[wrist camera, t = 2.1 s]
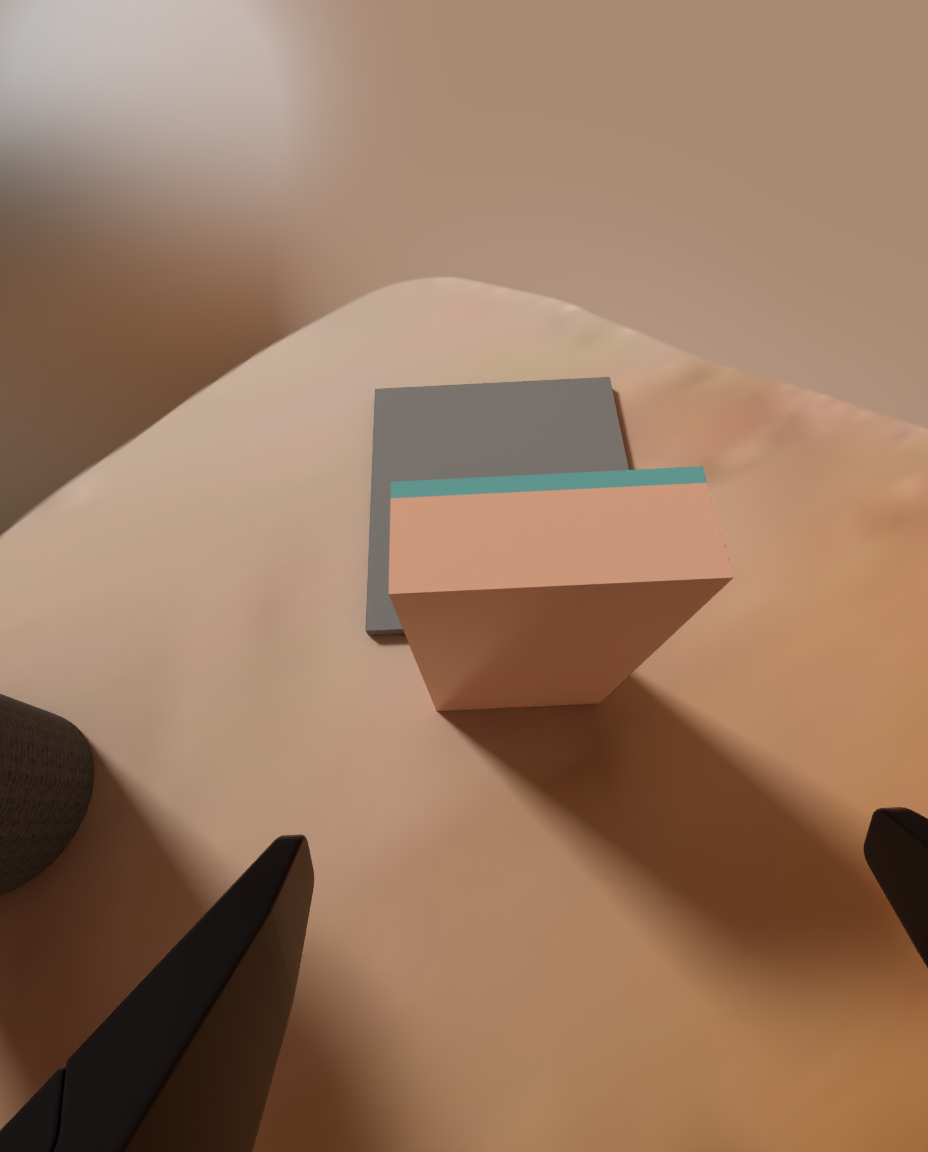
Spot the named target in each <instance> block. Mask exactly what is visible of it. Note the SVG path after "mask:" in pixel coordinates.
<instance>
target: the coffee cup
mask: <svg viewBox="0 0 928 1152" xmlns="http://www.w3.org/2000/svg"><path fill="white" fill-rule="evenodd" d="M92 785H93V761H92V756H91V752H90V749H89V746H88V744H87V742H86V740H85V738H84V736H83V735H82V733H81V732H80V731H79V730H78V729H77V728H76V727H75V726H74V725H73V724H72V723H71V722H69V721H68V720H66V719H64V718H62V717H60V716H58V715H55V714H53V713H50V712H48V711H45V710H42V709H40V708H37V707H34V706H31V705H29V704H26V703H23V702H21V701H18V700H15V699H13V698H10V697H7V696H5V695H2V694H0V895H1V894H3V893H6V892H9V891H11V890H13V889H15V888H17V887H19V886H21V885H23V884H24V883H26V882H27V881H29V880H31V879H32V878H33V877H35V876H36V875H37V874H39V873H40V872H41V871H42V870H44V869H45V868H46V867H47V866H48V865H49V864H50V863H51V862H52V861H53V860H54V859H55V858H56V857H57V856H58V855H59V854H60V853H61V851H62V850H63V849H64V848H65V846H66V845H67V844H68V842H69V841H70V840H71V838H72V837H73V835H74V833H75V832H76V830H77V828H78V826H79V825H80V823H81V821H82V818H83V816H84V814H85V811H86V809H87V806H88V803H89V799H90V796H91V791H92Z"/></svg>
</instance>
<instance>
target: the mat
mask: <svg viewBox="0 0 928 1152" xmlns="http://www.w3.org/2000/svg"><path fill="white" fill-rule="evenodd" d="M620 470H629V468H628V463H627V458H626V453H625V449H624V444H623V439H622V434H621V429H620V424H619V420H618V415H617V410H616V405H615V400H614V396H613V391H612V386H611V381H610V377H601V378H581V379H561V380H542V381H522V382H502V383H483V384H463V385H443V386H424V387H404V388H385V389H375V404H374V430H373V455H372V481H371V506H370V532H369V557H368V583H367V608H366V632H367V634H368V635H383V634H404V630H403V628H402V626H401V623H400V621H399V618H398V616H397V613H396V611H395V608H394V606H393V604H392V601H391V599H390V596H389V549H390V501H391V482H399V481H419V480H439V479H459V478H479V477H500V476H520V475H540V474H560V473H580V472H600V471H620Z"/></svg>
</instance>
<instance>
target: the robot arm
mask: <svg viewBox="0 0 928 1152" xmlns="http://www.w3.org/2000/svg"><path fill="white" fill-rule="evenodd" d="M864 855H865V859H866V861H867V863H868V866H869V867H870V869H871V871H872V873H873V874H874V876H875V878H876V880H877V881H878V883H879V885H880V887H881V888H882V890H883V892H884V894H885V895H886V897H887V899H888V901H889V902H890V904H891V906H892V907H893V909H894V911H895V913H896V914H897V916H898V918H899V920H900V921H901V923H902V925H903V927H904V928H905V930H906V932H907V934H908V935H909V937H910V939H911V941H912V942H913V944H914V946H915V948H916V949H917V951H918V953H919V954H920V956H921V958H922V959H923V961H924V963H925V964H926V966H927V968H928V819H927V818H925V817H924V816H922V815H920V814H918V813H916V812H914V811H912V810H910V809H907V808H903V807H894V808H880V809H877V810H876V811H875V812H874V813H873V815H872V819H871V822H870V826H869V829H868V832H867V836H866V839H865V843H864ZM313 888H314V870H313V865H312V860H311V855H310V850H309V845H308V841H307V839H306V837H305V836H304V835H284V836H280V837H278V838H277V839H276V840H274V842H273V843H272V844H271V845H270V846H269V847H268V848H267V849H266V850H265V851H264V852H263V853H262V854H261V855H260V856H259V857H258V859H257V860H256V861H255V862H254V863H253V864H252V865H251V866H250V867H249V868H248V869H247V870H246V871H245V872H244V873H243V874H242V876H241V877H240V878H239V879H238V880H237V881H236V882H235V883H234V884H233V885H232V886H231V887H230V888H229V889H228V890H227V891H226V893H225V894H224V895H223V896H222V897H221V898H220V899H219V900H218V901H217V902H216V903H215V904H214V905H213V906H212V907H211V908H210V910H209V911H208V912H207V913H206V914H205V915H204V916H203V917H202V918H201V919H200V920H199V921H198V922H197V923H196V924H195V925H194V927H193V928H192V929H191V930H190V931H189V932H188V933H187V934H186V935H185V936H184V937H183V938H182V939H181V940H180V941H179V942H178V944H177V945H176V946H175V947H174V948H173V949H172V950H171V951H170V952H169V953H168V954H167V955H166V956H165V957H164V958H163V959H162V961H161V962H160V963H159V964H158V965H157V966H156V967H155V968H154V969H153V970H152V971H151V972H150V973H149V974H148V975H147V976H146V977H145V979H144V980H143V981H142V982H141V983H140V984H139V985H138V986H137V987H136V988H135V989H134V990H133V991H132V992H131V993H130V994H129V996H128V997H127V998H126V999H125V1000H124V1001H123V1002H122V1003H121V1004H120V1005H119V1006H118V1007H117V1008H116V1009H115V1010H114V1011H113V1013H112V1014H111V1015H110V1016H109V1017H108V1018H107V1019H106V1020H105V1021H104V1022H103V1023H102V1024H101V1025H100V1026H99V1027H98V1028H97V1030H96V1031H95V1032H94V1033H93V1034H92V1035H91V1036H90V1037H89V1038H88V1039H87V1040H86V1041H85V1042H84V1043H83V1044H82V1045H81V1047H80V1048H79V1049H78V1050H77V1051H76V1052H75V1053H74V1054H73V1055H72V1056H71V1057H70V1058H69V1059H68V1060H67V1062H66V1065H65V1068H60V1069H59V1070H58V1071H57V1072H56V1073H55V1074H54V1075H53V1076H52V1077H51V1078H50V1079H49V1080H48V1081H47V1082H46V1083H45V1084H44V1085H43V1087H42V1088H41V1089H40V1090H39V1091H38V1092H37V1093H36V1094H35V1095H34V1096H33V1097H32V1098H31V1099H30V1100H29V1101H28V1102H27V1104H26V1105H25V1106H24V1107H23V1108H22V1109H21V1110H20V1111H19V1112H18V1113H17V1114H16V1115H15V1116H14V1117H13V1118H12V1119H11V1120H10V1121H9V1122H8V1123H7V1124H6V1125H5V1126H4V1127H3V1128H2V1129H1V1130H0V1152H252V1151H253V1147H254V1143H255V1140H256V1136H257V1132H258V1129H259V1125H260V1121H261V1118H262V1114H263V1111H264V1107H265V1103H266V1100H267V1096H268V1092H269V1089H270V1085H271V1081H272V1078H273V1074H274V1070H275V1067H276V1063H277V1060H278V1056H279V1052H280V1049H281V1045H282V1041H283V1038H284V1034H285V1030H286V1027H287V1023H288V1019H289V1016H290V1012H291V1008H292V1004H293V1000H294V995H295V990H296V985H297V979H298V974H299V968H300V962H301V957H302V951H303V945H304V940H305V934H306V928H307V922H308V917H309V911H310V905H311V900H312V894H313Z"/></svg>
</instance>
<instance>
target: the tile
mask: <svg viewBox="0 0 928 1152" xmlns="http://www.w3.org/2000/svg"><path fill="white" fill-rule="evenodd" d="M733 578H734V577H733V573H732V570H731V566H730V562H729V559H728V555H727V552H726V548H725V545H724V541H723V537H722V534H721V530H720V527H719V523H718V520H717V516H716V512H715V509H714V505H713V502H712V498H711V494H710V491H709V487H708V484H707V480H706V477H705V473H704V469H703V466H701V467H681V468H661V469H640V470H620V471H600V472H580V473H560V474H540V475H520V476H500V477H479V478H459V479H439V480H419V481H399V482H391V501H390V549H389V596H390V599H391V601H392V604H393V606H394V608H395V611H396V613H397V616H398V618H399V621H400V623H401V626H402V628H403V630H404V633H405V635H406V638H407V640H408V643H409V645H410V647H411V650H412V652H413V655H414V657H415V660H416V662H417V664H418V667H419V669H420V672H421V674H422V677H423V679H424V682H425V684H426V686H427V689H428V691H429V694H430V696H431V699H432V701H433V703H434V706H435V708H436V711H447V710H469V709H491V708H512V707H534V706H556V705H577V704H599V703H600V702H601V701H602V700H603V699H605V698H606V697H607V696H608V695H609V694H610V693H611V692H612V691H613V690H614V689H615V688H616V687H617V686H618V685H619V684H621V683H622V682H623V681H624V680H625V679H626V678H627V677H628V676H629V675H630V674H631V673H632V672H633V671H634V670H635V669H637V668H638V667H639V666H640V665H641V664H642V663H643V662H644V661H645V660H646V659H647V658H648V657H649V656H650V655H651V654H653V653H654V652H655V651H656V650H657V649H658V648H659V647H660V646H661V645H662V644H663V643H664V642H665V641H666V640H667V639H669V638H670V637H671V636H672V635H673V634H674V633H675V632H676V631H677V630H678V629H679V628H680V627H681V626H682V625H684V624H685V623H686V622H687V621H688V620H689V619H690V618H691V617H692V616H693V615H694V614H695V613H696V612H697V611H698V610H700V609H701V608H702V607H703V606H704V605H705V604H706V603H707V602H708V601H709V600H710V599H711V598H712V597H713V596H714V595H716V594H717V593H718V592H719V591H720V590H721V589H722V588H723V587H724V586H725V585H726V584H727V583H728V582H729V581H730V580H732V579H733Z"/></svg>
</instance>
